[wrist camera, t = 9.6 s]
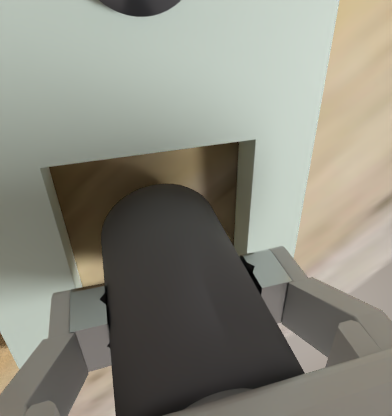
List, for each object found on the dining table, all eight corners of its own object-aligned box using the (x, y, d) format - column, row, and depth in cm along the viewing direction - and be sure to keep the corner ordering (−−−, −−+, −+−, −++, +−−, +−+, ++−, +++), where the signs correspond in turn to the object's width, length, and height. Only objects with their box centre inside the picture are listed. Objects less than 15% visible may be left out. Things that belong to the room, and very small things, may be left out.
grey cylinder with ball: (90, 194, 12) (102, 424, 6) (216, 175, 13) (338, 357, 7) (110, 287, 14) (134, 516, 8) (214, 265, 15) (303, 457, 9)
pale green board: (26, 345, 17) (22, 374, 15) (-353, -466, 5) (-478, -593, 4) (271, 288, 19) (284, 310, 18) (359, -338, 8) (409, -393, 7)
